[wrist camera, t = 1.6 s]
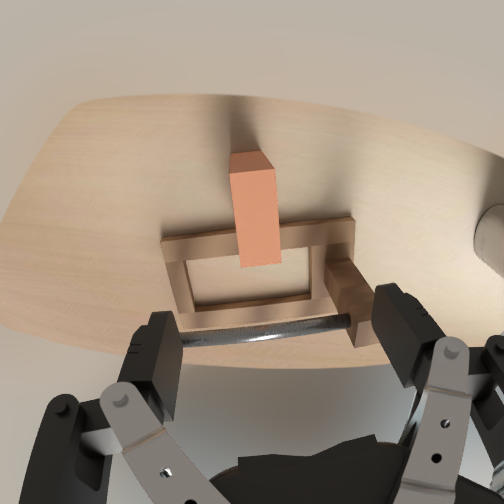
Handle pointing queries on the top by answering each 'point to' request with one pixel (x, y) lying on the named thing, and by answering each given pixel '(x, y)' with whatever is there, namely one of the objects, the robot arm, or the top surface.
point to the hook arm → (265, 331)
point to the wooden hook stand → (317, 302)
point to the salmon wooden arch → (255, 208)
